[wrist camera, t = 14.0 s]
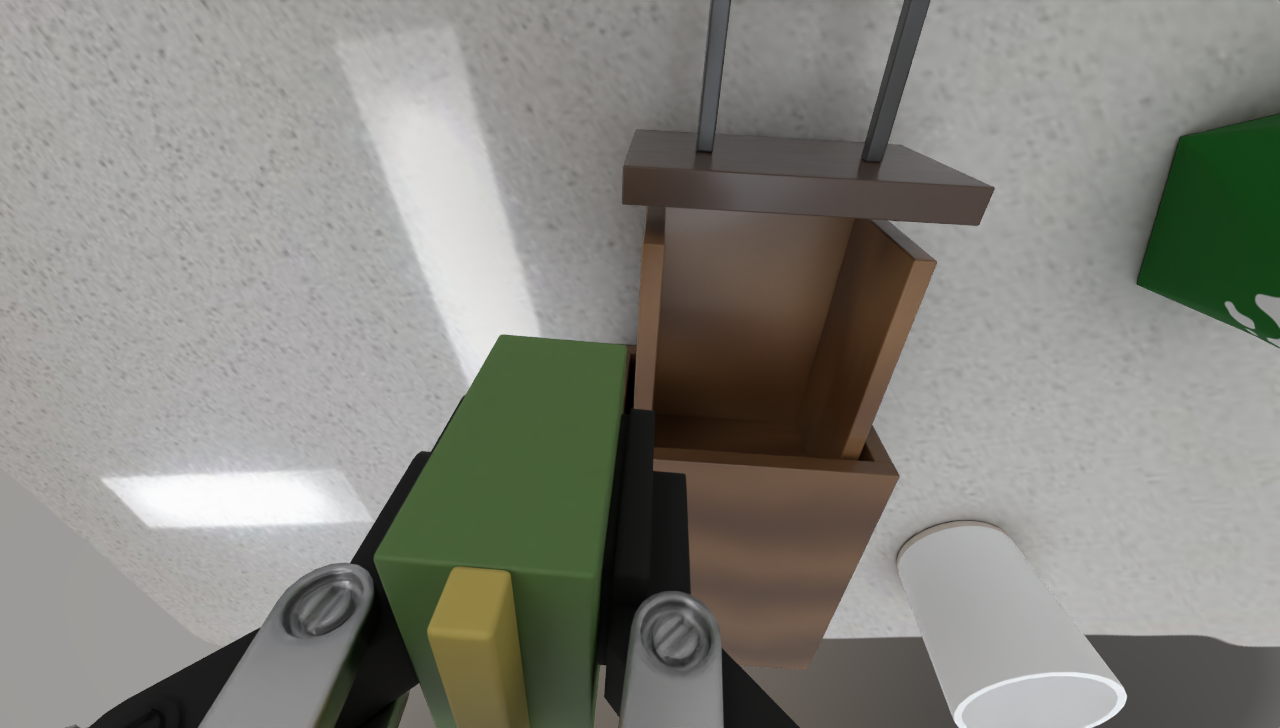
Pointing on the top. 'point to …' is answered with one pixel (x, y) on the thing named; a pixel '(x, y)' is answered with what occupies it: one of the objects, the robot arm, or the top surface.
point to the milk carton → (1222, 228)
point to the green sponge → (512, 540)
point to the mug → (1001, 634)
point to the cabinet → (774, 539)
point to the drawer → (782, 270)
